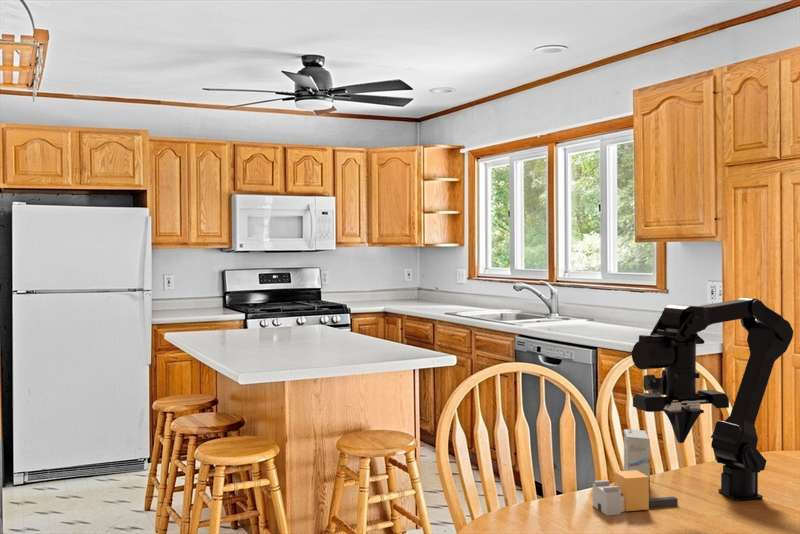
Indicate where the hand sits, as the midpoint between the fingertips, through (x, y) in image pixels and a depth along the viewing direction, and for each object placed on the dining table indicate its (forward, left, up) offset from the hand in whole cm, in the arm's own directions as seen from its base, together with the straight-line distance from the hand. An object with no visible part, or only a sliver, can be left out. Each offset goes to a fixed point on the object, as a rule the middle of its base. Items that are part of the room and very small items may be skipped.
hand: (680, 442), depth 157 cm
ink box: (+2, -14, -13) cm, 19 cm away
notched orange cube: (+10, -1, -13) cm, 17 cm away
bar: (+9, -1, -13) cm, 16 cm away
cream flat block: (+13, -1, -13) cm, 19 cm away
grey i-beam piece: (+16, -1, -13) cm, 21 cm away
